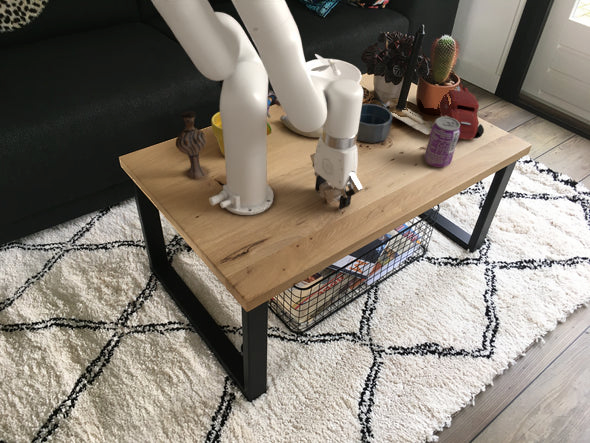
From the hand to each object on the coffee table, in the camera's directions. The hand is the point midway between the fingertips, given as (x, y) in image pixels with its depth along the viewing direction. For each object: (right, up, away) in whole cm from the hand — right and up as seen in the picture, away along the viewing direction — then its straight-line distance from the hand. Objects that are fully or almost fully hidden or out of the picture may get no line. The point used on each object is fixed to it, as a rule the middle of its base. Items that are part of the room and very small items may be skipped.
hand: (332, 197), depth 122 cm
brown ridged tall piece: (-35, +6, +6) cm, 36 cm away
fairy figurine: (+2, +37, +28) cm, 46 cm away
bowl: (+1, +33, +37) cm, 50 cm away
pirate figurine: (-23, +20, +14) cm, 33 cm away
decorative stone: (-7, +20, +23) cm, 31 cm away
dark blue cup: (+12, +20, +23) cm, 33 cm away
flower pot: (-26, +13, +14) cm, 32 cm away
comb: (+23, +22, +23) cm, 40 cm away
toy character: (0, -1, 0) cm, 1 cm away
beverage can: (+29, +10, +14) cm, 34 cm away
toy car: (+38, +25, +29) cm, 54 cm away
